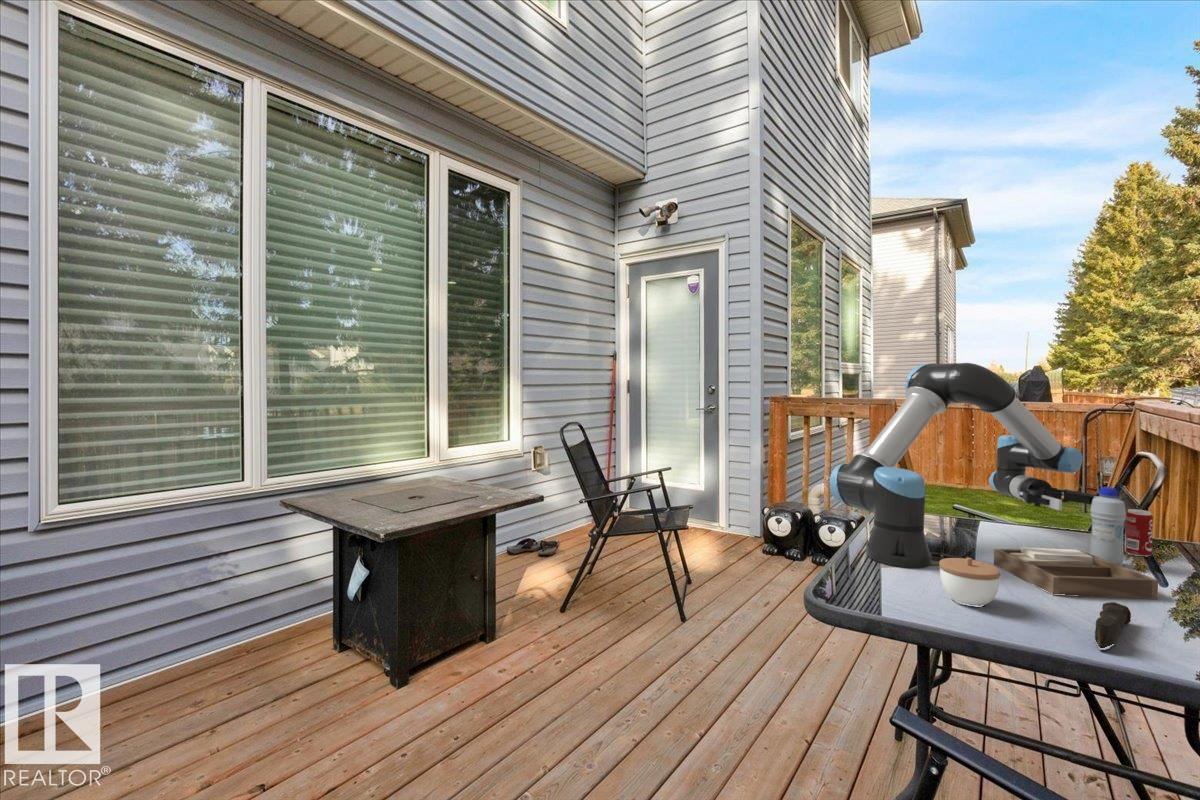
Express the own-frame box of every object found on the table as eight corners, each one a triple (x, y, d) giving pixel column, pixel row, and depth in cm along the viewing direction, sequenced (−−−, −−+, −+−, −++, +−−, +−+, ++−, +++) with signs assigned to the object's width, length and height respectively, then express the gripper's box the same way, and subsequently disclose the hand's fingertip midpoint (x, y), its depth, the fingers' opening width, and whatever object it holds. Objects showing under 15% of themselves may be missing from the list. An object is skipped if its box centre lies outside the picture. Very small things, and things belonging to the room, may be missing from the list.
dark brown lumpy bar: (1103, 618, 107) (1103, 595, 107) (1131, 625, 104) (1131, 601, 104) (1079, 647, 96) (1080, 621, 96) (1110, 656, 93) (1110, 629, 92)
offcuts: (1006, 562, 137) (1007, 546, 137) (1079, 564, 135) (1079, 548, 135) (1026, 572, 130) (1026, 555, 130) (1102, 574, 128) (1103, 557, 128)
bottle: (1082, 562, 140) (1085, 485, 139) (1096, 559, 142) (1099, 483, 142) (1116, 571, 134) (1119, 490, 133) (1129, 567, 136) (1132, 488, 136)
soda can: (1139, 552, 148) (1141, 508, 148) (1157, 558, 143) (1159, 513, 143) (1119, 551, 149) (1120, 508, 149) (1136, 557, 144) (1137, 512, 143)
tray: (993, 564, 138) (994, 548, 138) (1082, 566, 137) (1082, 551, 136) (1052, 595, 118) (1053, 577, 118) (1157, 598, 117) (1158, 580, 116)
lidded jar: (998, 599, 116) (999, 556, 116) (1000, 617, 107) (1002, 570, 107) (939, 588, 122) (940, 547, 122) (937, 604, 113) (938, 560, 113)
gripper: (1074, 502, 164) (1137, 520, 143) (988, 501, 167) (1037, 518, 145) (1075, 478, 164) (1138, 492, 143) (988, 477, 166) (1038, 490, 145)
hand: (1087, 505), depth 144 cm, fingers open, 13 cm apart
